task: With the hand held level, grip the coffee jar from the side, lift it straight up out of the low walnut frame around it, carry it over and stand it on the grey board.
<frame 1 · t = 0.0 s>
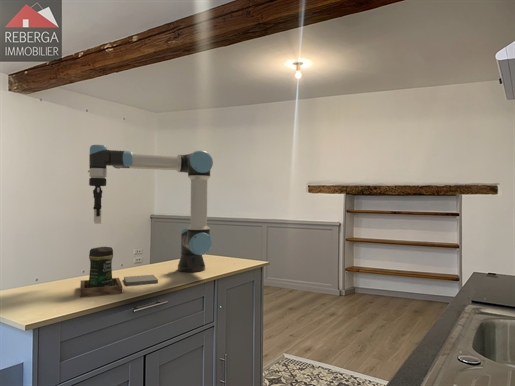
hand: (97, 222, 180), 28 cm above the counter, tool pointing down, fingers open, 13 cm apart
grey board: (140, 281, 182), on the counter
walnut frame: (100, 290, 164), on the counter
coffee jar: (100, 290, 164), resting in walnut frame
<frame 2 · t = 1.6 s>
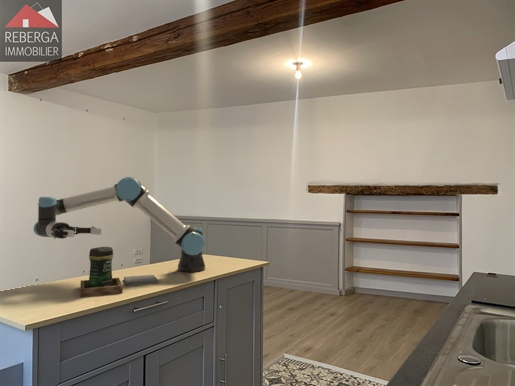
hand: (87, 232, 169), 24 cm above the counter, tool horizontal, fingers open, 13 cm apart
nothing on the counter moved.
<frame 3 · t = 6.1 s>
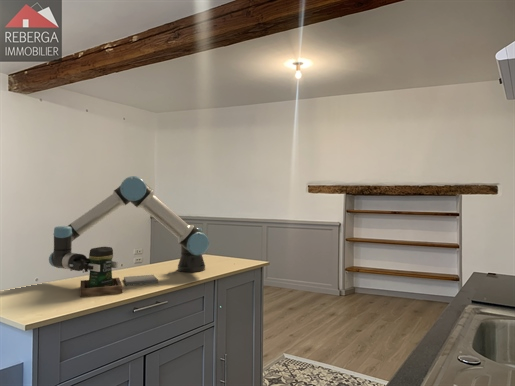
hand: (108, 266, 162), 11 cm above the counter, tool horizontal, fingers closed on coffee jar, 8 cm apart
coffee jar: (100, 290, 164), resting in walnut frame, touching gripper
when the fingers open (13 cm above the counter, at t = 11.6 s): coffee jar moves 3 cm, resting on grey board.
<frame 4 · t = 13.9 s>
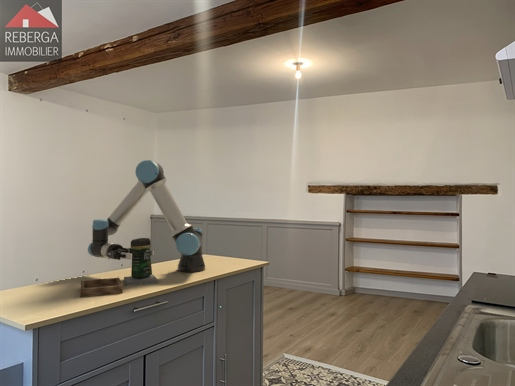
hand: (142, 254, 181), 13 cm above the counter, tool horizontal, fingers open, 13 cm apart
coffee jar: (142, 277, 184), point 2 cm above the counter, touching grey board, gripper
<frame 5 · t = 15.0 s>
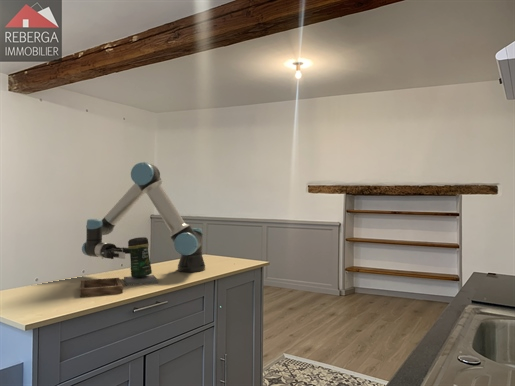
hand: (135, 253, 183), 13 cm above the counter, tool horizontal, fingers open, 13 cm apart
coffee jar: (142, 276, 184), point 2 cm above the counter, touching grey board
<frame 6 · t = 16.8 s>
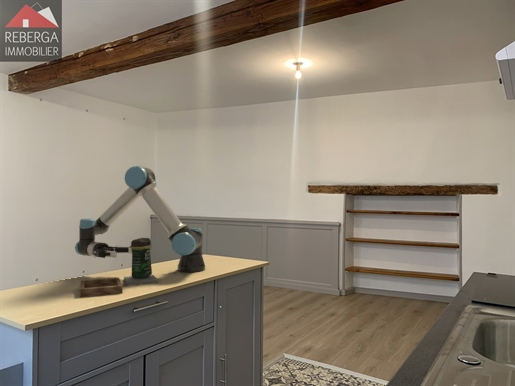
hand: (127, 252, 187), 13 cm above the counter, tool horizontal, fingers open, 13 cm apart
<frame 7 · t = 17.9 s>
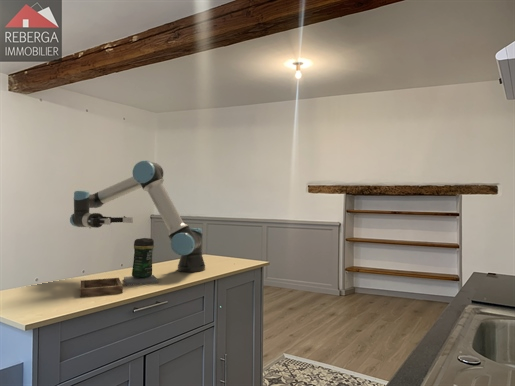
hand: (121, 220, 189), 28 cm above the counter, tool horizontal, fingers open, 13 cm apart
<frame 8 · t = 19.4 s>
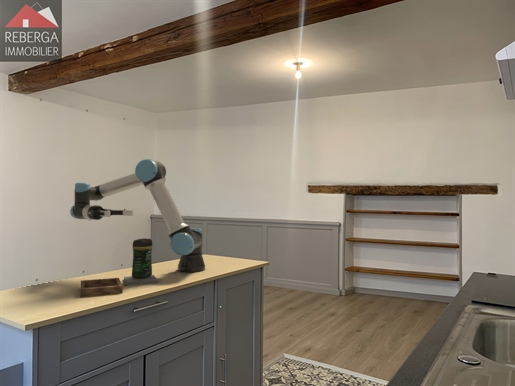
hand: (121, 213, 189), 32 cm above the counter, tool horizontal, fingers open, 13 cm apart
at the end: coffee jar inside the target area on the grey board (3.1 cm from its centre), point 1.3 cm above the grey board's base; coffee jar tilted 0°; coffee jar touching grey board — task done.
